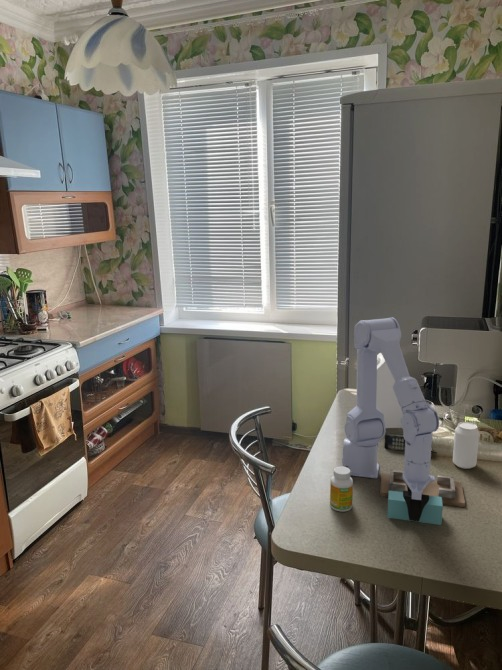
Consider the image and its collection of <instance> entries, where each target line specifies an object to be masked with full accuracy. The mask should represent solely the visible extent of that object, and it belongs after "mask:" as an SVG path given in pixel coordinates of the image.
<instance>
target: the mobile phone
mask: <svg viewBox="0 0 502 670" xmlns="http://www.w3.org/2000/svg"><path fill="white" fill-rule="evenodd" d="M384 448H385V449H386V450H393V451H394V450H395V451H401V452H402V451H403V452H405V439H404V436H403V433H395V432H389V433H385V435H384Z"/></svg>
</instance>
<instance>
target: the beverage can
mask: <svg viewBox="0 0 502 670" xmlns="http://www.w3.org/2000/svg"><path fill="white" fill-rule="evenodd" d="M479 441H480V431H479V429H478V426H477V424H475V423H472V422H470V421H461V422H459V423H458V424H457V426H456V428H455V429H454V441H453V453H452V463H453V464H454V465H456V467H458V468H460V469H465V470H469V469H472V468H475V467H476V466H477V462H478V461H477V460H478V453H479V452H478V450H479Z"/></svg>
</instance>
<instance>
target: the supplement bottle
mask: <svg viewBox="0 0 502 670" xmlns="http://www.w3.org/2000/svg"><path fill="white" fill-rule="evenodd" d="M329 486H330V488H329V489H330V491H329V492H330V493H329V494H330V495H329V503H330V504H329V506H330V507H331V509H333V510H334V511H338V512H341V513H342V512H343V513H344V512H348V511H351V509H352V507H353V494H354V480H353V478H352V477H351V475H350V469H349V468H347V467H344V466H343V465H341V466H336V467H334V469H333V475H332V476H331V479H330V485H329Z"/></svg>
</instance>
